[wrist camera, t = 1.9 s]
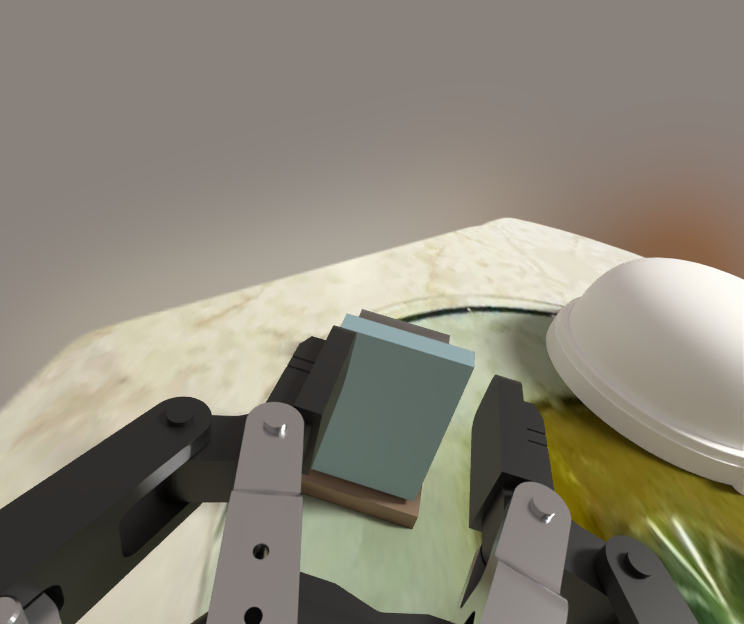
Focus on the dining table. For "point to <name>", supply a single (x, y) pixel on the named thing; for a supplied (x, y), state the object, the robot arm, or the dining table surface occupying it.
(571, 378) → the dome cover
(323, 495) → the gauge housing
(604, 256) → the dining table surface
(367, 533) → the dining table surface
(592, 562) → the robot arm
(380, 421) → the blue-grey rectangular panel
